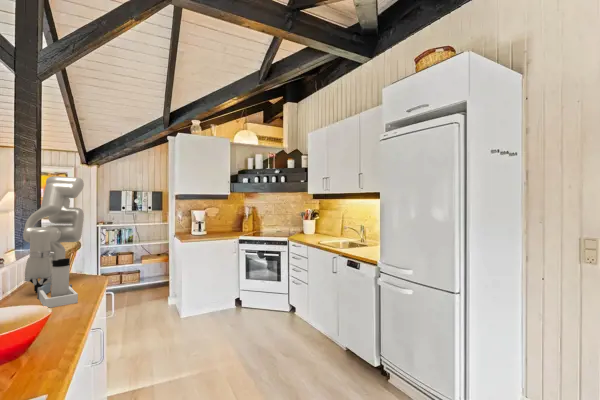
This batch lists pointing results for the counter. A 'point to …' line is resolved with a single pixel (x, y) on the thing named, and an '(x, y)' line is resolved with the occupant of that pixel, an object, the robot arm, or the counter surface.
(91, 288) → the counter surface
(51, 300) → the grey rectangular frame
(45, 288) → the cover gate
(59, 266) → the travel mug
